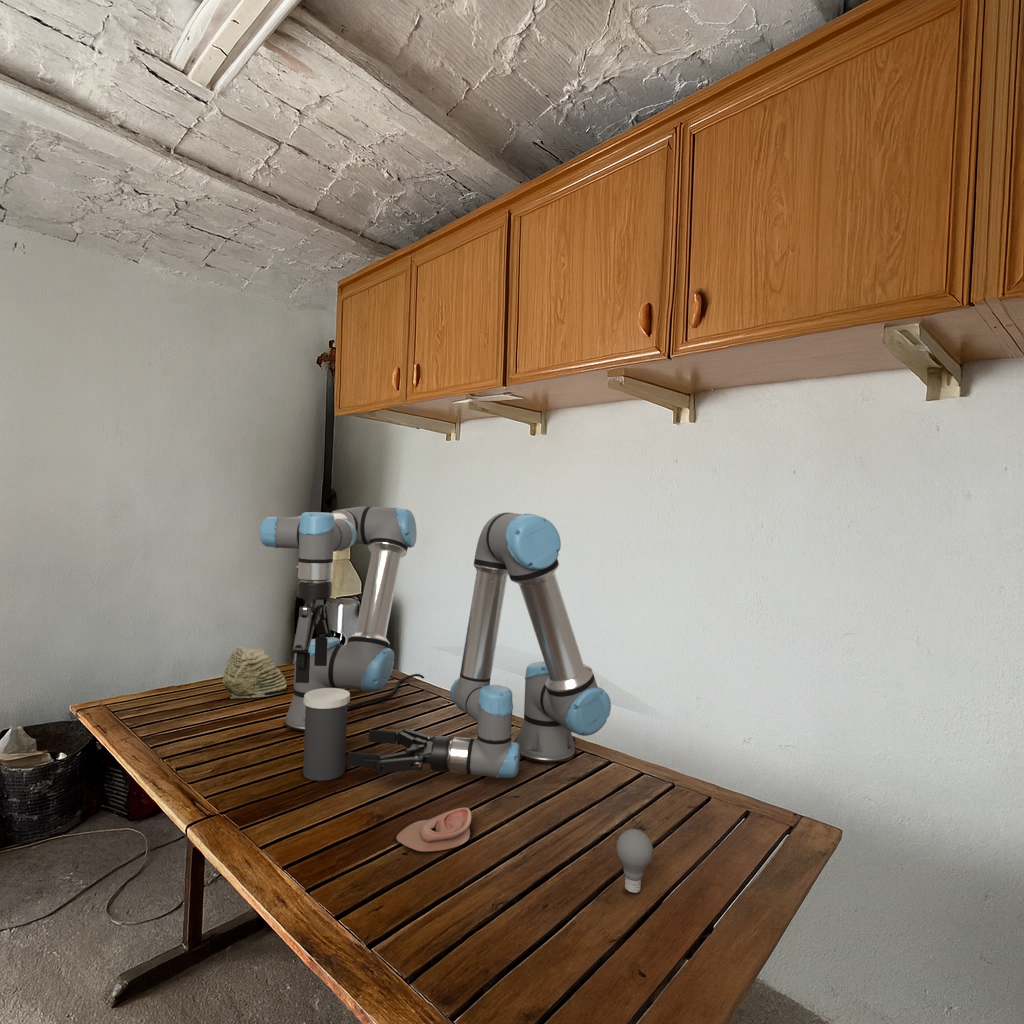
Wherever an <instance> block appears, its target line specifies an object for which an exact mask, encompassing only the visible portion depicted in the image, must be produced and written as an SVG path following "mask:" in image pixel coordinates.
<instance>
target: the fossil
mask: <svg viewBox="0 0 1024 1024" xmlns="http://www.w3.org/2000/svg"><path fill="white" fill-rule="evenodd" d="M222 676H223V677H222V685H223V687H224V688H225V690H226V691H228V693H229V698H230V699H250V698H264V697H271V696H275V695H281V694H284V693H285V691H286V689H287V687H288V686H287V680H286V678H285V676H284V674H283V673H282V672H281V669H279V668H278V667H277V665H276V663H275V662H274V660H273V659H272V658H271V657H270V656H269V655H268V654H267V653H266V652H265V650H264V649H263V648H260V647H258V648H251V647H247V646H246V647H245V646H238V647H237V648H236V649H235V650H233V651H232V653H231V656H230V657H229V659H228V660H227V663H226V666H225V668H224V671H223V675H222Z"/></svg>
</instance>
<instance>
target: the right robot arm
mask: <svg viewBox="0 0 1024 1024" xmlns="http://www.w3.org/2000/svg"><path fill="white" fill-rule="evenodd" d="M561 543H562V542H561V536H560V533H559V531H558V529H557V527H556V526H555V525H554V524H553V522H552V521H550V520H549V519H547V518H546V517H543V516H540V515H537V514H535V513H514V512H501V513H498V514H496V515H494V516H492V517H491V518H490V519H488V521H487V522H486V523H485V524H484V525H483V528H482V529H481V531H480V534H479V537H478V540H477V543H476V549H475V552H474V553H475V554H474V560H473V566H474V568H475V570H476V574H475V579H474V586H473V592H472V597H471V605H470V610H469V616H468V623H467V629H466V635H465V641H464V647H463V654H462V659H461V664H460V665H461V666H460V673H459V677H458V678H456V679H455V680H454V681H453V683H452V685H451V686H450V698H451V700H452V703H454V705H455V706H456V707H457V708H458V709H459V710H460V711H462V712H464V713H466V714H467V715H468V716H469V717H470V718H471V719H473V720H474V721H475V722H476V723H477V737H476V738H471V737H460V736H454V737H453V738H452V737H451V736H444V735H436V736H435V735H428V734H426V733H422V732H419V731H415V730H413V729H409V728H406V727H404V728H402V729H401V730H397V731H395V730H394V731H393V730H392V731H391V730H381V729H368V743H377V744H387V745H396V746H400V745H401V746H403V747H404V748H405V749H404V751H399V752H394V753H389V754H383V755H381V754H380V753H379V752H377V753H369V752H358V751H348V752H347V766H350V767H359V768H360V767H361V768H370V769H372V768H373V769H375V774H377V775H381V774H390V773H399V772H400V773H401V772H410V771H419V772H421V771H423V768H424V765H429V766H430V769H431V771H432V772H437V773H447V772H450V773H451V774H460V776H465V775H473V776H480V777H481V776H482V777H491V778H495V779H511V778H512V779H513V778H515V777H517V776H518V774H519V769H520V759H524V760H526V761H529V762H532V763H538V764H545V765H548V764H549V765H552V764H553V765H554V764H561V763H562V764H563V763H566V762H568V761H570V760H572V759H574V757H575V754H576V753H575V752H576V746H575V741H576V738H575V737H573V733H574V734H576V735H578V736H582V737H587V736H588V737H589V736H592V735H594V734H596V733H597V732H599V731H600V730H601V729H602V728H603V727H604V726H605V725H606V724H607V721H608V718H609V717H610V714H611V711H612V710H611V709H612V701H611V698H610V695H609V694H608V692H607V691H606V690H604V689H603V688H602V687H599V686H598V684H597V681H596V678H595V674H594V671H593V668H592V667H591V666H590V665H587V664H585V663H584V661H583V658H582V655H581V652H580V648H579V646H578V642H577V639H576V636H575V633H574V630H573V626H572V623H571V620H570V617H569V613H568V610H567V607H566V604H565V601H564V598H563V595H562V592H561V588H560V586H559V585H560V584H559V582H558V578H557V575H556V571H557V570H558V569H559V566H560V563H559V560H558V558H559V554H560V553H559V552H560V551H561V548H562V547H561V545H562V544H561ZM508 576H509V577H508ZM508 578H509V580H510V581H511V582H513V583H514V584H517V585H518V586H519V589H520V592H521V594H522V598H523V601H524V605H525V607H526V610H527V613H528V616H529V620H530V622H531V625H532V628H533V631H534V634H535V637H536V641H537V643H538V646H539V649H540V652H541V656H542V659H543V661H536V662H531V663H530V664H528V665H527V666H526V669H525V676H524V681H525V682H524V701H523V702H524V704H523V706H524V707H523V720H522V724H521V727H520V730H519V731H518V735H517V736H516V737H515V739H514V740H512V726H513V725H512V723H513V711H514V702H513V692H512V690H511V689H510V688H509V687H508V686H505V685H500V684H491V679H492V678H491V677H492V673H493V665H494V660H495V654H496V648H497V641H498V637H499V636H498V635H499V629H500V622H501V618H502V611H503V607H504V606H503V605H504V598H505V593H506V587H507V583H508V582H507V581H508Z"/></svg>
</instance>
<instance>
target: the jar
mask: <svg viewBox="0 0 1024 1024" xmlns="http://www.w3.org/2000/svg"><path fill="white" fill-rule="evenodd" d="M348 705H349V703H348V704H346V705H344V706H341V707H337V708H331V709H316V708H311V707H308V706H306V711H305V732H304V738H303V739H304V742H303V767H302V774H303V776H304V778H305V779H307V780H310V781H316V782H323V781H331V780H334V779H335V780H336V779H338V778H340V777H342V776H343V775H344V774H345V772H346V756H347V755H346V754H347V732H348V731H347V730H348V709H349V708H348ZM347 708H348V709H347Z"/></svg>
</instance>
